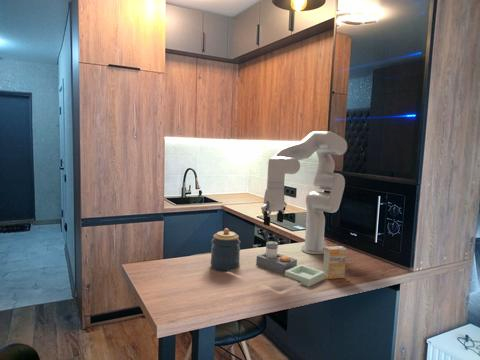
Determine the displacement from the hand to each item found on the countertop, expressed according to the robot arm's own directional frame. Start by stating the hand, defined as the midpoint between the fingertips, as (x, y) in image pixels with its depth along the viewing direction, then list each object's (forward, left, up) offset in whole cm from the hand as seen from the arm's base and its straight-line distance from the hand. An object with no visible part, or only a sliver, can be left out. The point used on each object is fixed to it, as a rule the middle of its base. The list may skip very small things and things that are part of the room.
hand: (273, 223), depth 161 cm
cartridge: (0, 0, -19) cm, 19 cm away
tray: (0, +18, -20) cm, 27 cm away
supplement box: (-11, +25, -20) cm, 34 cm away
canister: (+16, -14, -20) cm, 29 cm away
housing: (0, +3, -20) cm, 20 cm away
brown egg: (0, +7, -19) cm, 20 cm away
